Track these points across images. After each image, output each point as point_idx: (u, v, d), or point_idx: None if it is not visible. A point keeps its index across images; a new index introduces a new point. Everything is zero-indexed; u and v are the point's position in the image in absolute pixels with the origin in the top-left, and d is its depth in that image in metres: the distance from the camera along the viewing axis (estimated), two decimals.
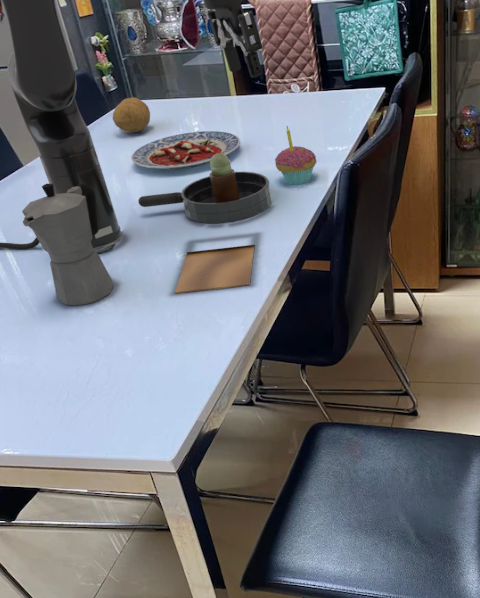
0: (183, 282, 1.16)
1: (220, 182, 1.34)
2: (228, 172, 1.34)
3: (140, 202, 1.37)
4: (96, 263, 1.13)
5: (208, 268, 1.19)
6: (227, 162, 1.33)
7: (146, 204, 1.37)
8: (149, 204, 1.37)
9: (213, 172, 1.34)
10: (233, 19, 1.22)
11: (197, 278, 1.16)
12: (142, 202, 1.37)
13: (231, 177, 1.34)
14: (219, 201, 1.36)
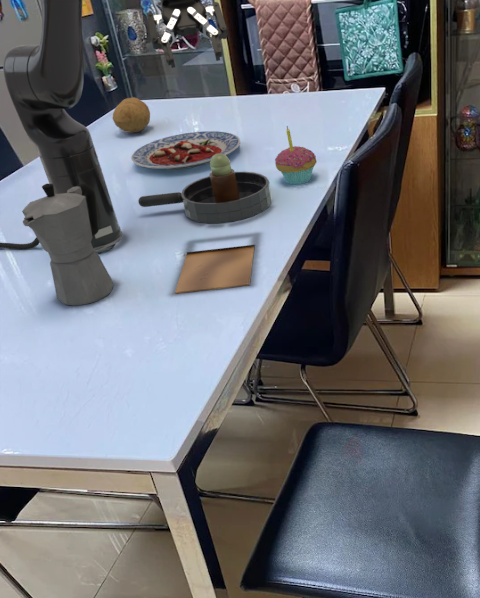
0: (183, 282, 1.16)
1: (220, 182, 1.34)
2: (228, 172, 1.34)
3: (140, 202, 1.37)
4: (96, 263, 1.13)
5: (208, 268, 1.19)
6: (227, 162, 1.33)
7: (146, 204, 1.37)
8: (149, 204, 1.37)
9: (213, 172, 1.34)
10: (202, 8, 1.33)
11: (197, 278, 1.16)
12: (142, 202, 1.37)
13: (231, 177, 1.34)
14: (219, 201, 1.36)
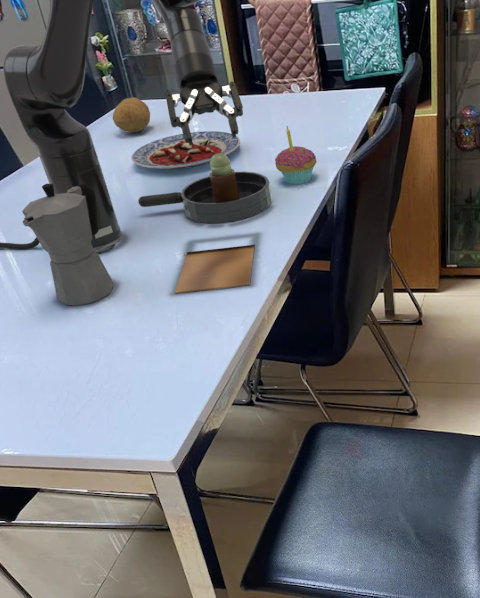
0: (183, 282, 1.16)
1: (220, 182, 1.34)
2: (228, 172, 1.34)
3: (140, 202, 1.37)
4: (96, 263, 1.13)
5: (208, 268, 1.19)
6: (227, 162, 1.33)
7: (146, 204, 1.37)
8: (149, 204, 1.37)
9: (213, 172, 1.34)
10: (219, 87, 1.38)
11: (197, 278, 1.16)
12: (142, 202, 1.37)
13: (231, 177, 1.34)
14: (219, 201, 1.36)
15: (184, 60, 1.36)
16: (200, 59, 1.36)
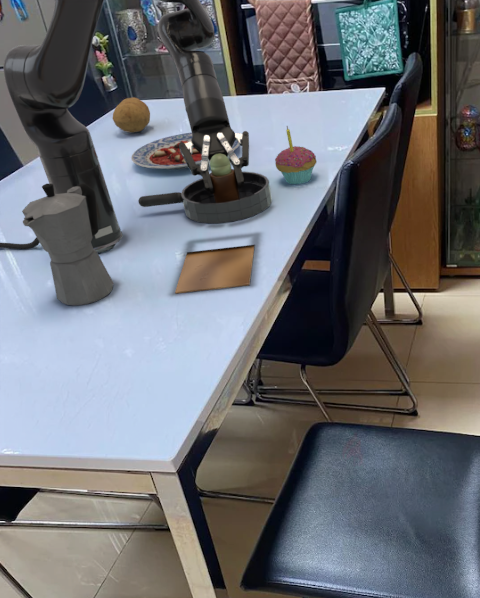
0: (183, 282, 1.16)
1: (220, 182, 1.34)
2: (228, 172, 1.34)
3: (140, 202, 1.37)
4: (96, 263, 1.13)
5: (208, 268, 1.19)
6: (227, 162, 1.33)
7: (146, 204, 1.37)
8: (149, 204, 1.37)
9: (213, 172, 1.34)
10: (231, 132, 1.36)
11: (197, 278, 1.16)
12: (142, 202, 1.37)
13: (231, 177, 1.34)
14: (219, 201, 1.36)
15: (196, 105, 1.33)
16: (212, 104, 1.33)
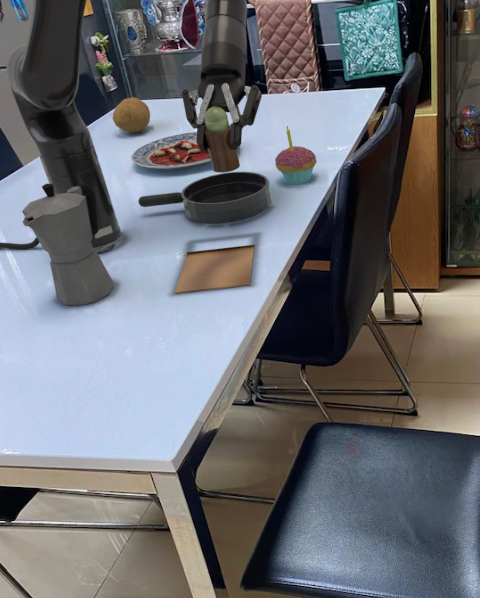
0: (183, 282, 1.16)
1: (211, 139, 1.19)
2: (221, 129, 1.18)
3: (140, 202, 1.37)
4: (96, 263, 1.13)
5: (208, 268, 1.19)
6: (221, 118, 1.17)
7: (146, 204, 1.37)
8: (149, 204, 1.37)
9: None
10: (239, 84, 1.19)
11: (197, 278, 1.16)
12: (142, 202, 1.37)
13: (223, 136, 1.18)
14: (212, 161, 1.22)
15: (206, 49, 1.18)
16: (223, 50, 1.17)
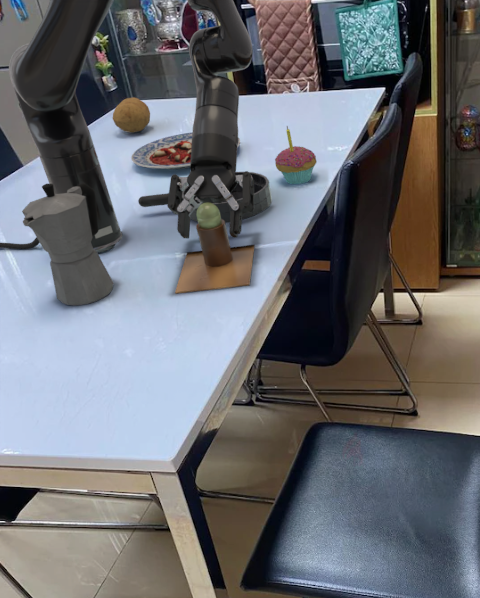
0: (183, 282, 1.16)
1: (203, 235, 1.16)
2: (213, 226, 1.15)
3: (140, 202, 1.37)
4: (96, 263, 1.13)
5: (208, 268, 1.19)
6: (213, 214, 1.14)
7: (146, 204, 1.37)
8: (149, 204, 1.37)
9: (198, 223, 1.16)
10: (230, 176, 1.16)
11: (197, 278, 1.16)
12: (142, 202, 1.37)
13: (215, 232, 1.15)
14: (204, 255, 1.19)
15: (196, 141, 1.15)
16: (213, 142, 1.14)
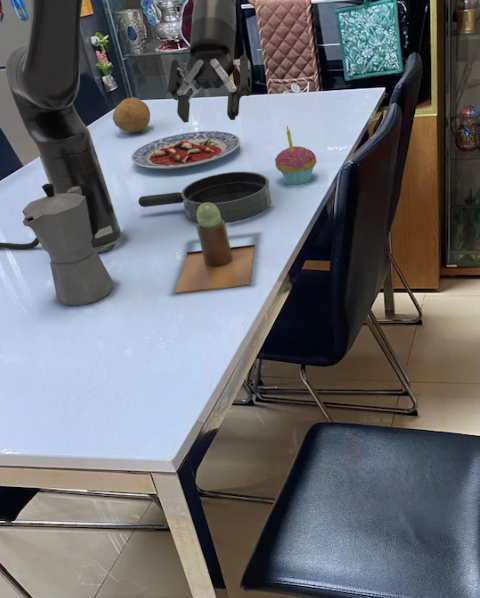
0: (183, 282, 1.16)
1: (203, 235, 1.16)
2: (213, 226, 1.15)
3: (140, 202, 1.37)
4: (96, 263, 1.13)
5: (208, 268, 1.19)
6: (213, 214, 1.14)
7: (146, 204, 1.37)
8: (149, 204, 1.37)
9: (198, 223, 1.16)
10: (228, 60, 1.20)
11: (197, 278, 1.16)
12: (142, 202, 1.37)
13: (215, 232, 1.15)
14: (204, 255, 1.19)
15: (196, 25, 1.20)
16: (212, 26, 1.19)
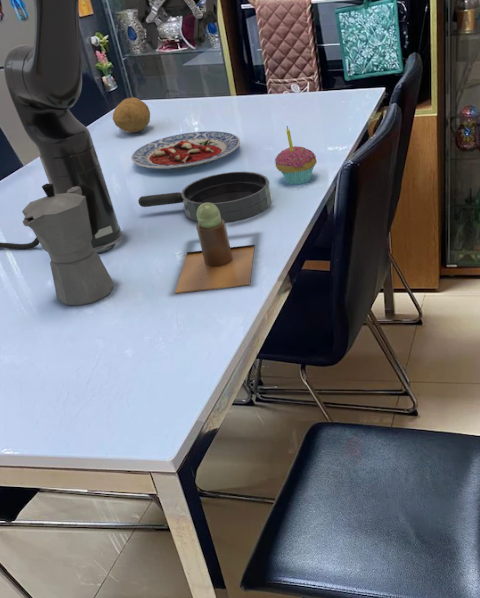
0: (183, 282, 1.16)
1: (203, 235, 1.16)
2: (213, 226, 1.15)
3: (140, 202, 1.37)
4: (96, 263, 1.13)
5: (208, 268, 1.19)
6: (213, 214, 1.14)
7: (146, 204, 1.37)
8: (149, 204, 1.37)
9: (198, 223, 1.16)
10: None
11: (197, 278, 1.16)
12: (142, 202, 1.37)
13: (215, 232, 1.15)
14: (204, 255, 1.19)
15: None
16: None
